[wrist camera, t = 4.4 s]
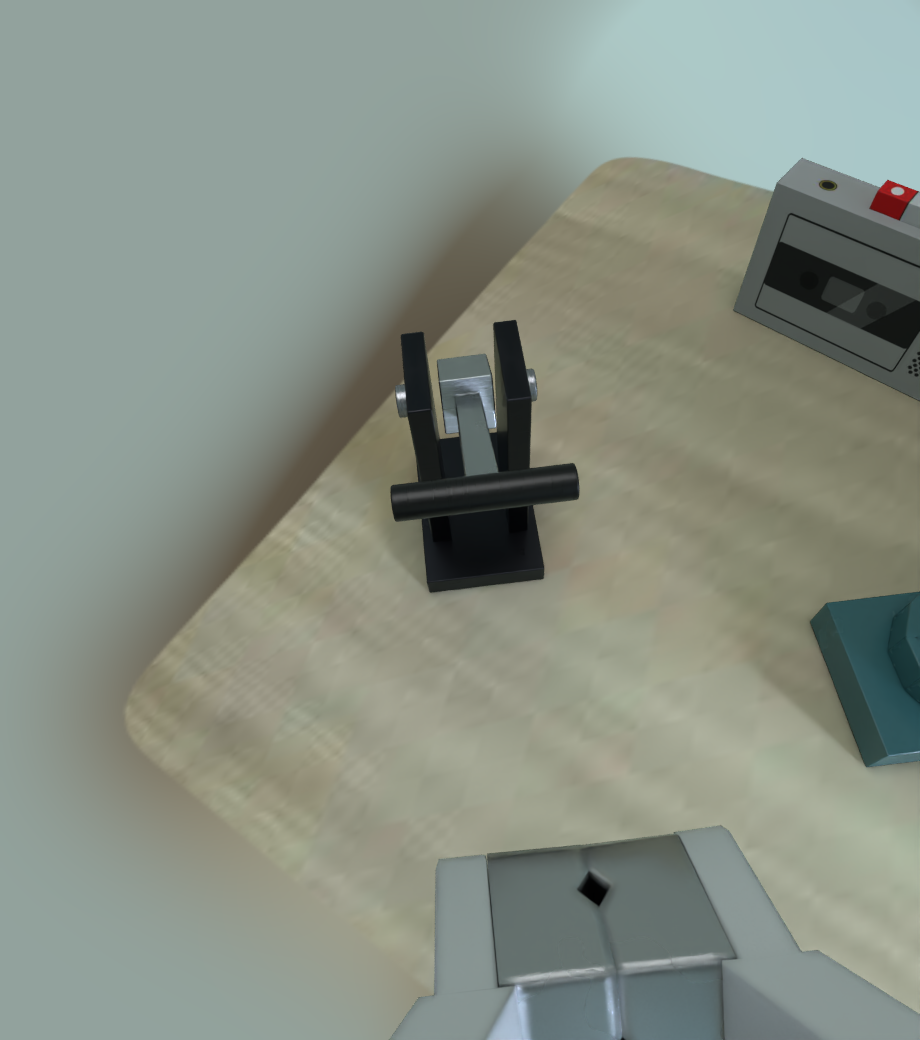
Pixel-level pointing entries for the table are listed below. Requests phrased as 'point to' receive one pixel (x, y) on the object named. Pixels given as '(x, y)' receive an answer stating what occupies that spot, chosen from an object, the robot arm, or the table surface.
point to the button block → (876, 672)
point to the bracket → (470, 536)
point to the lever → (478, 456)
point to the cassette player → (841, 272)
